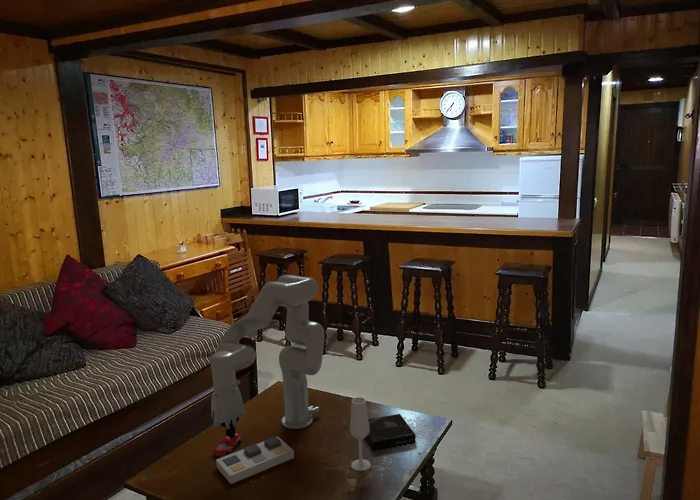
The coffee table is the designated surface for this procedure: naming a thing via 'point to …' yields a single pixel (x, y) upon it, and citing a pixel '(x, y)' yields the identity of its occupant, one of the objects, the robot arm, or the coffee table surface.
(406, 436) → the portable cd player
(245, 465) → the button board
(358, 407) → the champagne flute
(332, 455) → the coffee table surface
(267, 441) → the button
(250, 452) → the button mid
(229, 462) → the button
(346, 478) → the coffee table surface
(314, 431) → the coffee table surface
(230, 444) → the race car
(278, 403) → the coffee table surface
